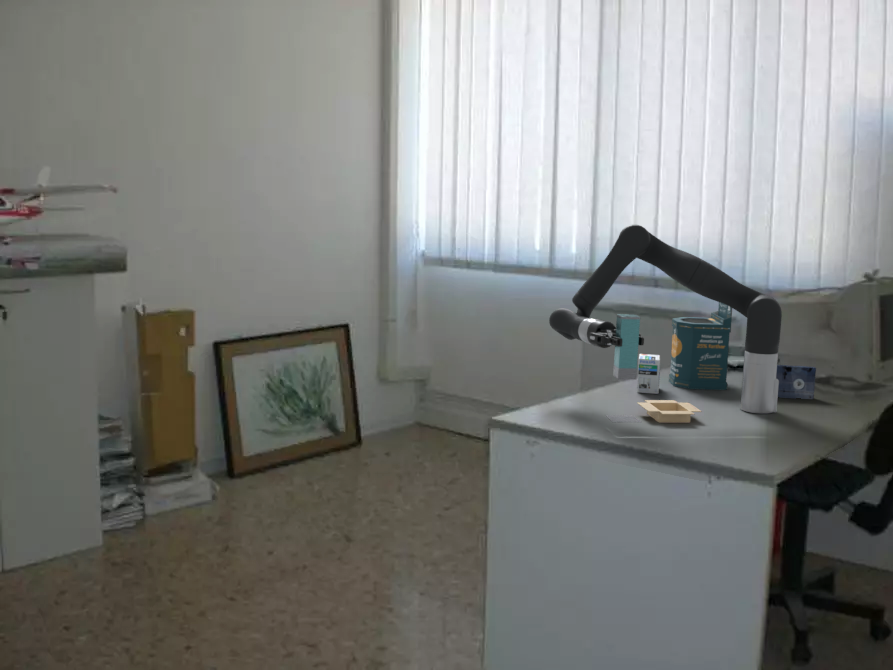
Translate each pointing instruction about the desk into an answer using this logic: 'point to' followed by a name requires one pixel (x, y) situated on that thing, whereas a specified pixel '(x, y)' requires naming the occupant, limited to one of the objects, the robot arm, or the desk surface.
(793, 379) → the vhs cassette tape
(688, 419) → the carton
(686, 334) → the donation box
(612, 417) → the mat
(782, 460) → the desk surface
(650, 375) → the light bulb box
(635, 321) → the tall box
